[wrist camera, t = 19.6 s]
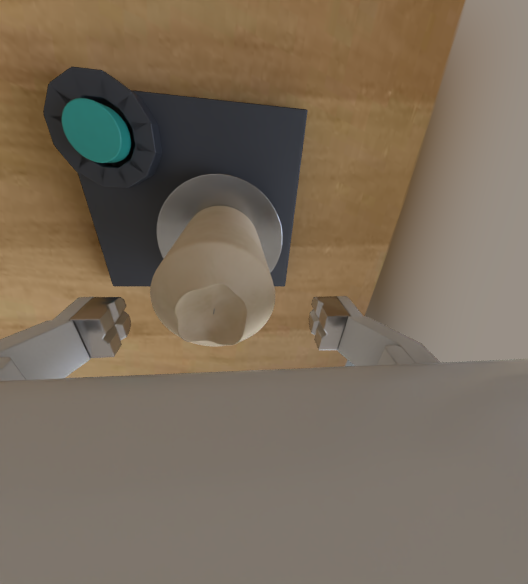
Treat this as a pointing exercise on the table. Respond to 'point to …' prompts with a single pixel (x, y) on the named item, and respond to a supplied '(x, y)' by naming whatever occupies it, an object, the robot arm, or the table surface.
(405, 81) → the table surface
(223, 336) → the candle
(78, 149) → the button
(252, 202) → the silver metal disc
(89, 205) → the scale
